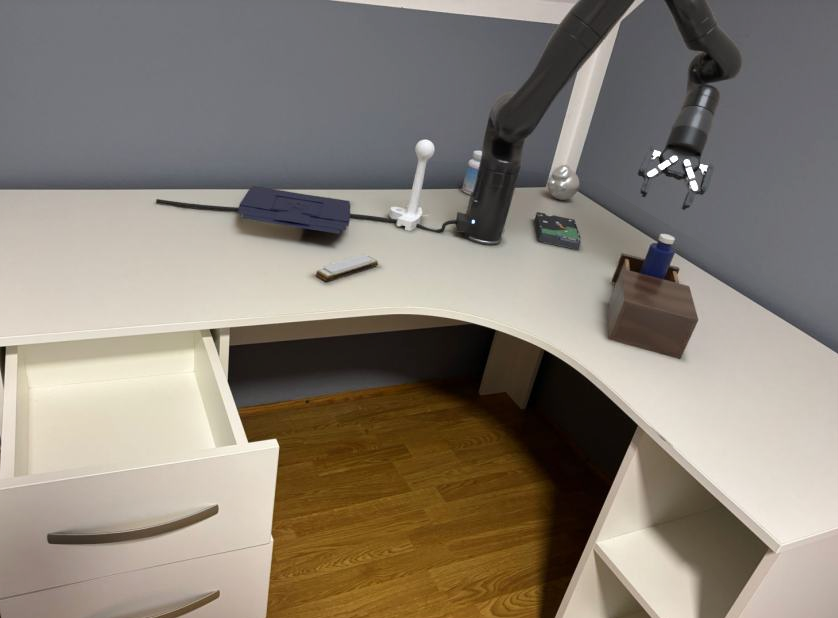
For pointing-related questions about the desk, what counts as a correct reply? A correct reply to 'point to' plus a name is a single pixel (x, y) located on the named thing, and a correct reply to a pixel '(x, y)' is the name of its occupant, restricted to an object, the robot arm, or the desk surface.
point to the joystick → (414, 190)
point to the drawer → (635, 265)
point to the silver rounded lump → (563, 183)
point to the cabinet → (651, 313)
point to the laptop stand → (295, 209)
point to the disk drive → (557, 230)
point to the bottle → (659, 257)
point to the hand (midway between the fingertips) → (664, 202)
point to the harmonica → (346, 267)
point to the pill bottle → (472, 172)
